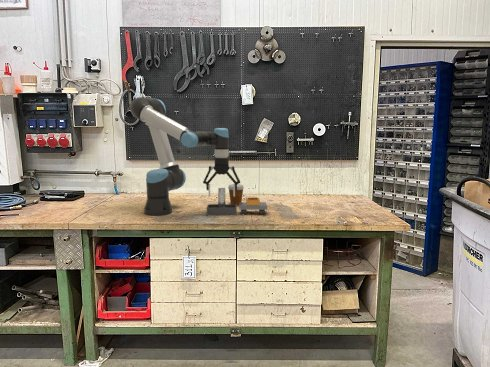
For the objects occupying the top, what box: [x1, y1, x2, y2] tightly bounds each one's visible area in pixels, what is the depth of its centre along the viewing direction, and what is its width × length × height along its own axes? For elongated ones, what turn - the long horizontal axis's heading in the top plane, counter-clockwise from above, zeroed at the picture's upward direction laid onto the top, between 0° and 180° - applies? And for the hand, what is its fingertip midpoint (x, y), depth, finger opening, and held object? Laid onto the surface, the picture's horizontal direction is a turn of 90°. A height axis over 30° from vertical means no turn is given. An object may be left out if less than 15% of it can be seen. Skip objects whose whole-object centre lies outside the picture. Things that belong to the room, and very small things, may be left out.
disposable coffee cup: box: [227, 183, 245, 207], centre depth 226 cm, size 10×10×12 cm
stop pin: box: [217, 187, 226, 208], centre depth 205 cm, size 4×4×13 cm
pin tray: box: [206, 203, 238, 216], centre depth 206 cm, size 16×9×4 cm, turn 92°
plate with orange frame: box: [238, 197, 268, 216], centre depth 206 cm, size 15×9×8 cm, turn 92°
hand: (221, 196), depth 205 cm, fingers open, 13 cm apart
